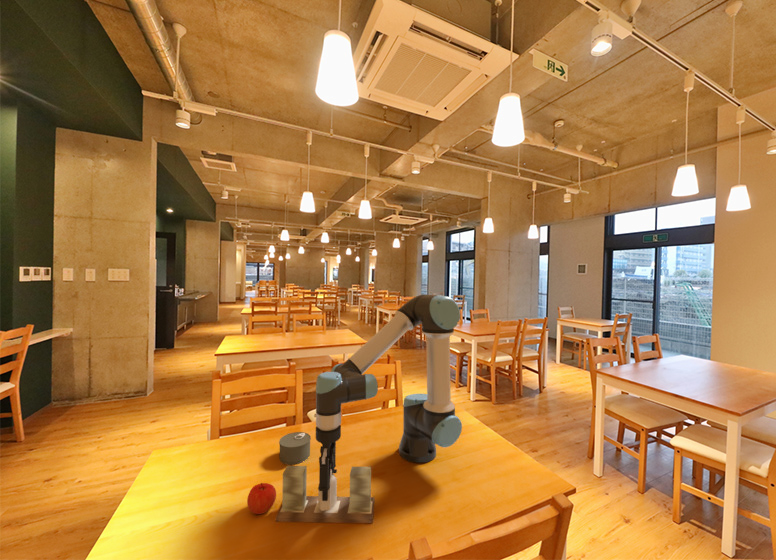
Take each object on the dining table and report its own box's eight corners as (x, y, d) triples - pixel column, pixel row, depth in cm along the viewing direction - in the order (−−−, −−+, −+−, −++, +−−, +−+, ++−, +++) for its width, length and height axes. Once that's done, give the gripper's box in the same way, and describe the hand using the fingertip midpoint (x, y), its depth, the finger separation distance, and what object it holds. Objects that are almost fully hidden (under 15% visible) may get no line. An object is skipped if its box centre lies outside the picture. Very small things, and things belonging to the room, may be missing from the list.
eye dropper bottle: (317, 501, 94) (317, 463, 94) (335, 497, 96) (336, 460, 96) (318, 512, 90) (319, 472, 90) (337, 508, 92) (338, 469, 92)
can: (272, 461, 119) (272, 443, 119) (292, 446, 130) (293, 429, 130) (297, 468, 114) (297, 449, 114) (316, 452, 126) (316, 435, 126)
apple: (241, 519, 89) (242, 491, 90) (255, 499, 97) (255, 474, 98) (268, 520, 89) (269, 492, 89) (279, 501, 97) (280, 475, 97)
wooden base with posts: (374, 501, 97) (374, 462, 97) (372, 523, 88) (373, 480, 88) (286, 499, 98) (286, 460, 98) (275, 521, 89) (276, 478, 89)
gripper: (322, 412, 102) (322, 483, 102) (307, 440, 84) (307, 525, 84) (345, 412, 102) (344, 483, 102) (335, 440, 84) (334, 526, 84)
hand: (327, 502), depth 93 cm, fingers closed on eye dropper bottle, 5 cm apart
